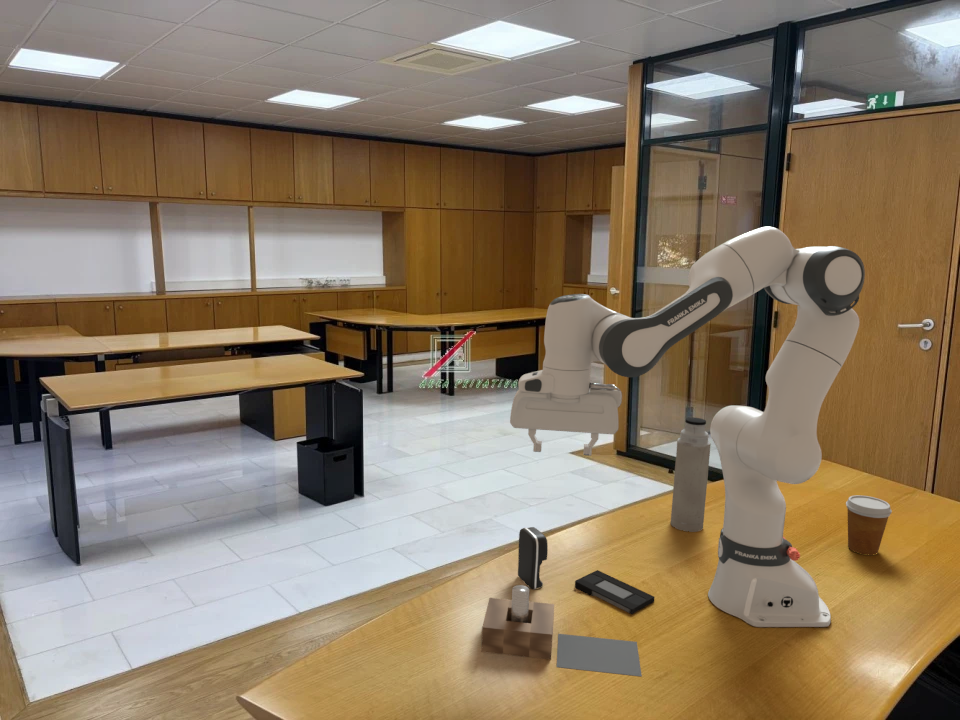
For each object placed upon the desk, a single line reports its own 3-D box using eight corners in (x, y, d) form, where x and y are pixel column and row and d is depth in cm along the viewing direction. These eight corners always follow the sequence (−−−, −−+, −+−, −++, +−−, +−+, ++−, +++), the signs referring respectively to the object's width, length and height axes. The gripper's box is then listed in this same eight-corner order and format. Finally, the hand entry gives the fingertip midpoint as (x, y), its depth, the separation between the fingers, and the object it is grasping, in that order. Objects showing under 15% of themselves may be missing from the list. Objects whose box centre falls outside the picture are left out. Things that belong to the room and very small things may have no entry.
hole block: (553, 629, 127) (554, 604, 127) (550, 661, 118) (552, 634, 117) (488, 622, 129) (489, 597, 128) (481, 653, 119) (482, 627, 118)
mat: (636, 643, 124) (636, 641, 123) (641, 678, 114) (641, 676, 114) (558, 635, 125) (558, 633, 125) (556, 669, 116) (556, 666, 116)
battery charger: (548, 588, 142) (550, 536, 140) (531, 591, 141) (534, 539, 139) (532, 572, 149) (534, 523, 147) (516, 575, 147) (518, 525, 145)
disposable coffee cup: (842, 553, 162) (848, 505, 160) (838, 538, 171) (844, 492, 169) (888, 561, 159) (895, 512, 156) (882, 545, 167) (888, 498, 165)
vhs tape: (631, 619, 133) (632, 609, 132) (574, 589, 143) (574, 580, 143) (653, 605, 138) (654, 596, 137) (596, 578, 148) (597, 570, 148)
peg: (527, 637, 125) (529, 586, 123) (526, 646, 122) (528, 594, 120) (511, 635, 125) (513, 584, 123) (509, 645, 122) (511, 592, 120)
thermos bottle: (675, 516, 181) (684, 413, 176) (706, 523, 177) (716, 418, 172) (666, 526, 175) (675, 419, 170) (698, 534, 170) (707, 425, 166)
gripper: (621, 381, 130) (617, 451, 132) (513, 375, 133) (511, 444, 135) (623, 388, 124) (618, 462, 126) (510, 381, 127) (507, 454, 129)
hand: (562, 452), depth 131 cm, fingers open, 8 cm apart
